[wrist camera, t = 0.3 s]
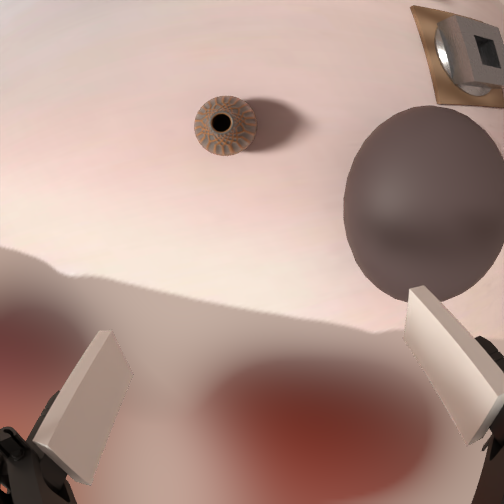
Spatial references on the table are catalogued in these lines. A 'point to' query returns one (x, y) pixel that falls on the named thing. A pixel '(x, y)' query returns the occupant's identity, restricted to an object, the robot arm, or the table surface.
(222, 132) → the vase
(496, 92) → the walnut board
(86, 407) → the robot arm
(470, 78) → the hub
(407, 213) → the smooth stone
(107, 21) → the table surface
